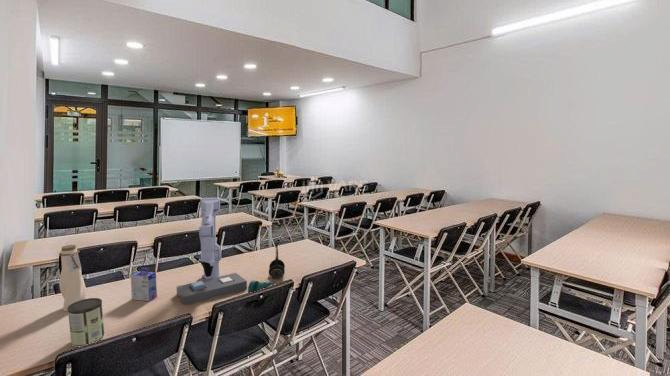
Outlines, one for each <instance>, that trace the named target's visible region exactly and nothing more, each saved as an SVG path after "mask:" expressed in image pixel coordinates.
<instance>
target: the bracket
mask: <svg viewBox="0 0 670 376" xmlns="http://www.w3.org/2000/svg"><path fill="white" fill-rule="evenodd" d="M274 284H276V285H277V282H275V281H270V280H269V281H259V280H254V279H253V280H251V281H250V282H249V284H248V285H247V294H248V293H250V292H254V291H258V290H260V289H263V288H267V287H269V286H271V285H274Z"/></svg>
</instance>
